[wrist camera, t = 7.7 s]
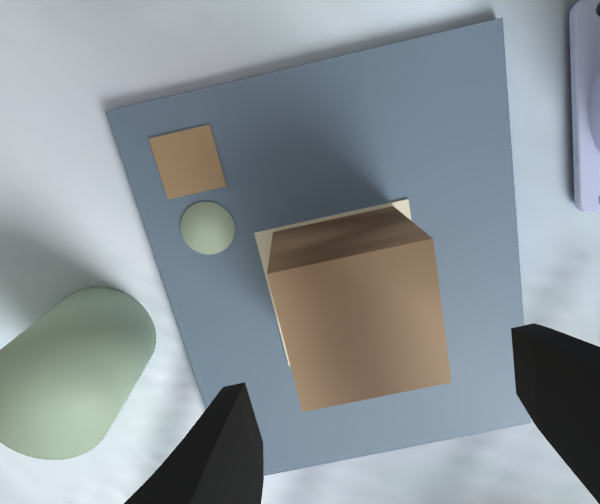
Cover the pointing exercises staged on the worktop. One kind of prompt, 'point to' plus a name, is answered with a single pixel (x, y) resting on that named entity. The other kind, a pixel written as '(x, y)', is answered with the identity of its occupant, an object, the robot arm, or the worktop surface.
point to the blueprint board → (330, 205)
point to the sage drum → (72, 373)
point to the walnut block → (359, 307)
